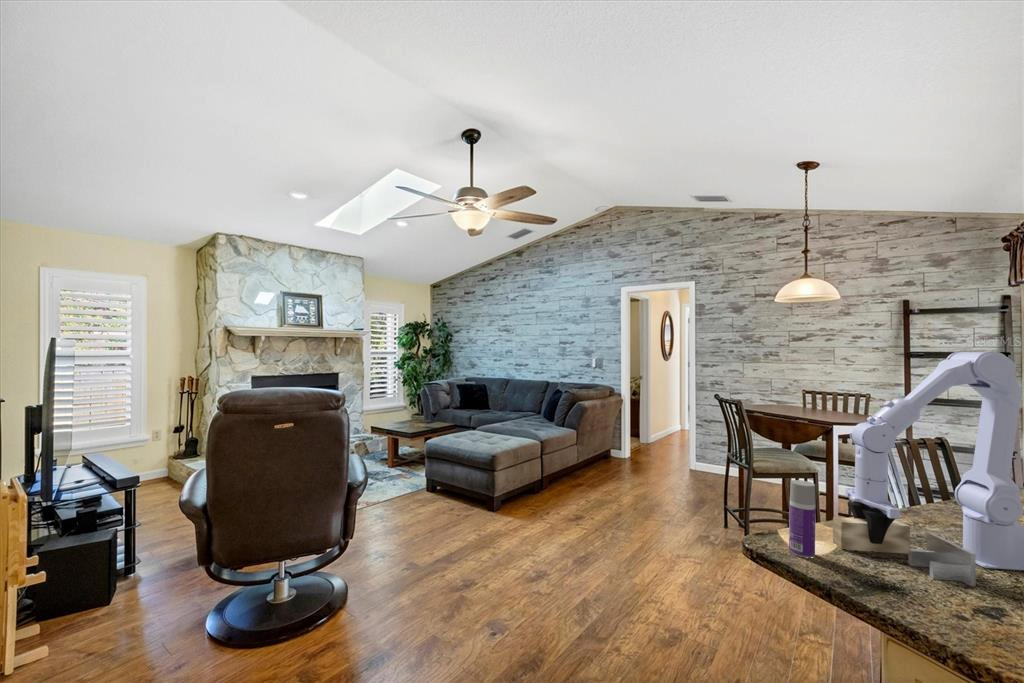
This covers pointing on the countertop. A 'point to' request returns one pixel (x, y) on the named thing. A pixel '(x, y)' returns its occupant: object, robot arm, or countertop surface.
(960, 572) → the bracket
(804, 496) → the container
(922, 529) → the countertop surface
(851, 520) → the rail
